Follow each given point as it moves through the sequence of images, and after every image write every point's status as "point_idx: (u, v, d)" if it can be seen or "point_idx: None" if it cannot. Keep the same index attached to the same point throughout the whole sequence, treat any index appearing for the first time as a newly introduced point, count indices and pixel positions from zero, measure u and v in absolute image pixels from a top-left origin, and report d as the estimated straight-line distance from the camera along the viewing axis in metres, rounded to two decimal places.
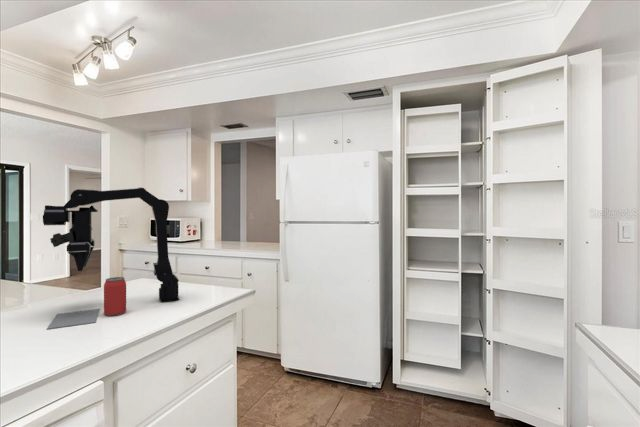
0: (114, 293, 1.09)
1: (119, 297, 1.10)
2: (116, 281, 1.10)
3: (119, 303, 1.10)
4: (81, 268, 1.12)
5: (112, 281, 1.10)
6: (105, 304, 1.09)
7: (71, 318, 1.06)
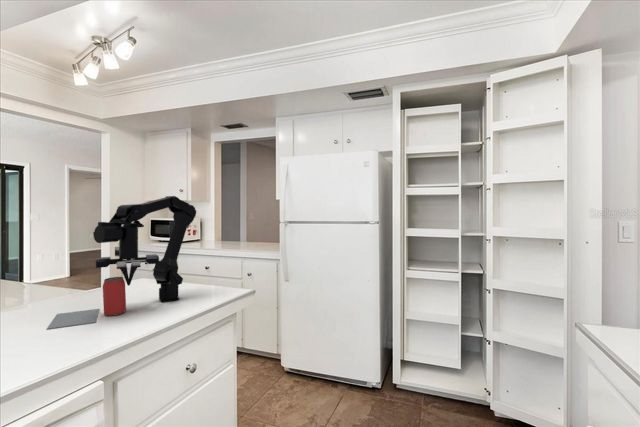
0: (113, 293, 1.09)
1: (118, 297, 1.10)
2: (115, 281, 1.10)
3: (118, 303, 1.10)
4: None
5: (111, 281, 1.09)
6: (105, 304, 1.09)
7: (71, 318, 1.06)
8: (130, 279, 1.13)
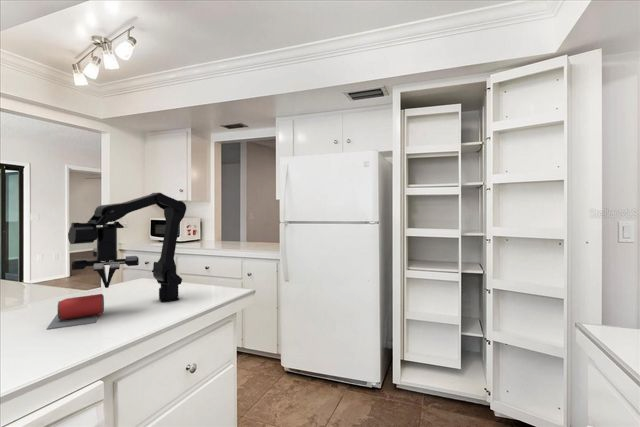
0: (75, 310, 1.04)
1: (80, 305, 1.05)
2: (59, 310, 1.02)
3: (88, 304, 1.06)
4: (104, 285, 1.10)
5: (59, 314, 1.02)
6: (89, 315, 1.07)
7: None
8: (108, 281, 1.10)
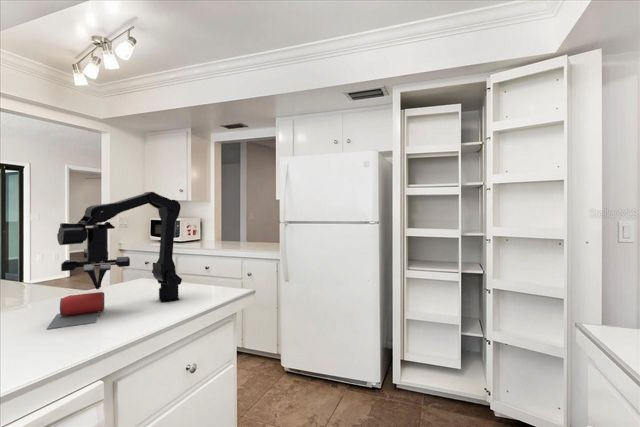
0: (77, 295, 1.10)
1: (83, 294, 1.12)
2: (62, 298, 1.08)
3: (90, 293, 1.13)
4: (95, 286, 1.09)
5: (61, 299, 1.07)
6: (90, 301, 1.10)
7: (71, 318, 1.06)
8: (99, 283, 1.09)
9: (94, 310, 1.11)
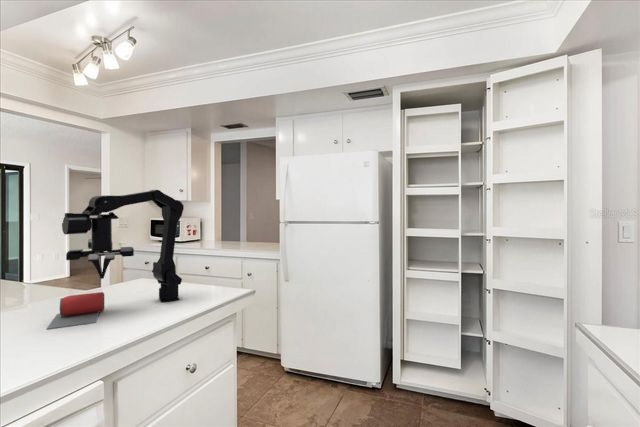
0: (77, 296, 1.09)
1: (83, 294, 1.11)
2: (62, 298, 1.08)
3: (90, 293, 1.12)
4: None
5: (61, 300, 1.07)
6: (90, 302, 1.09)
7: (71, 318, 1.06)
8: (104, 272, 1.10)
9: (94, 311, 1.11)
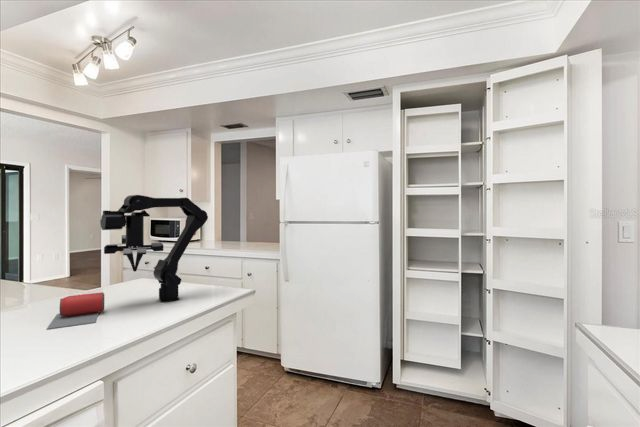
0: (77, 297, 1.09)
1: (83, 294, 1.11)
2: (62, 299, 1.07)
3: None
4: None
5: (61, 301, 1.06)
6: (90, 304, 1.09)
7: (71, 318, 1.06)
8: (136, 265, 1.20)
9: (94, 311, 1.11)
